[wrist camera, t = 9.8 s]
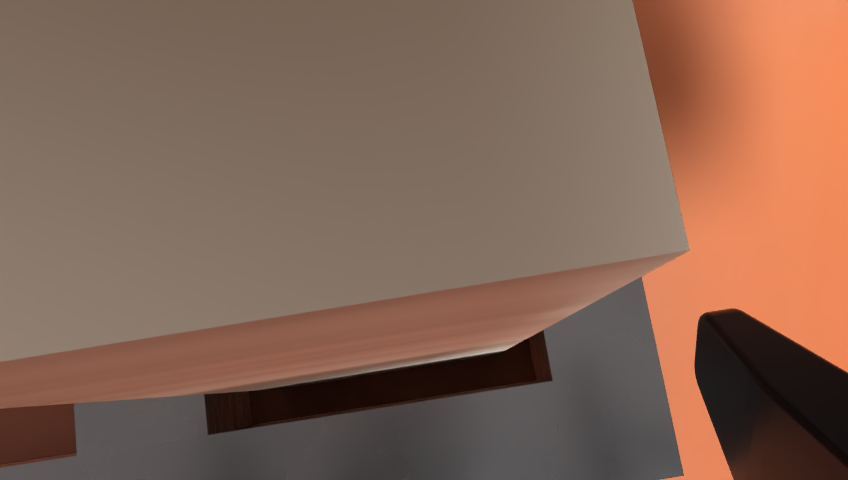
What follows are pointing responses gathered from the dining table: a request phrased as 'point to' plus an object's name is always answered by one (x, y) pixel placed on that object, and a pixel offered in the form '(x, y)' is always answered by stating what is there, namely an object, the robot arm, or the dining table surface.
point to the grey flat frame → (413, 423)
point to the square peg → (312, 187)
